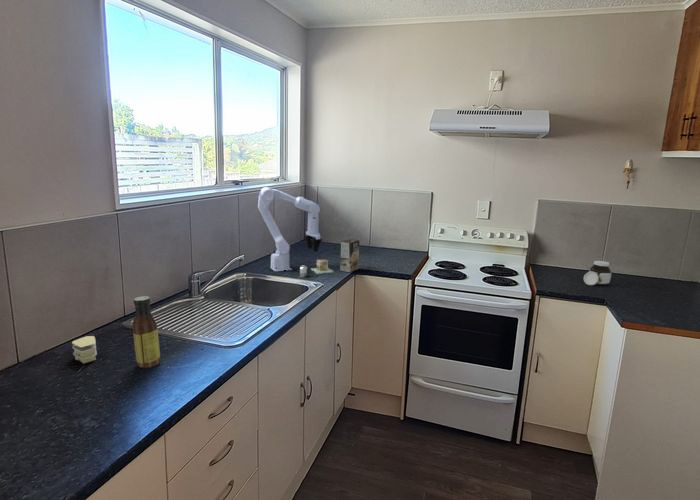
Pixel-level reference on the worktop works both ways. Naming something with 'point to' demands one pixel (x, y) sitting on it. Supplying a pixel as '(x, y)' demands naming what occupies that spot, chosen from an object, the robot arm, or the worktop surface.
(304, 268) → the clear glass cylinder
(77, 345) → the cream layered block
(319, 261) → the maple block
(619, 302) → the worktop surface
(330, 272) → the sage tile
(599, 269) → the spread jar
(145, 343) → the sauce bottle
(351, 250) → the coffee box
